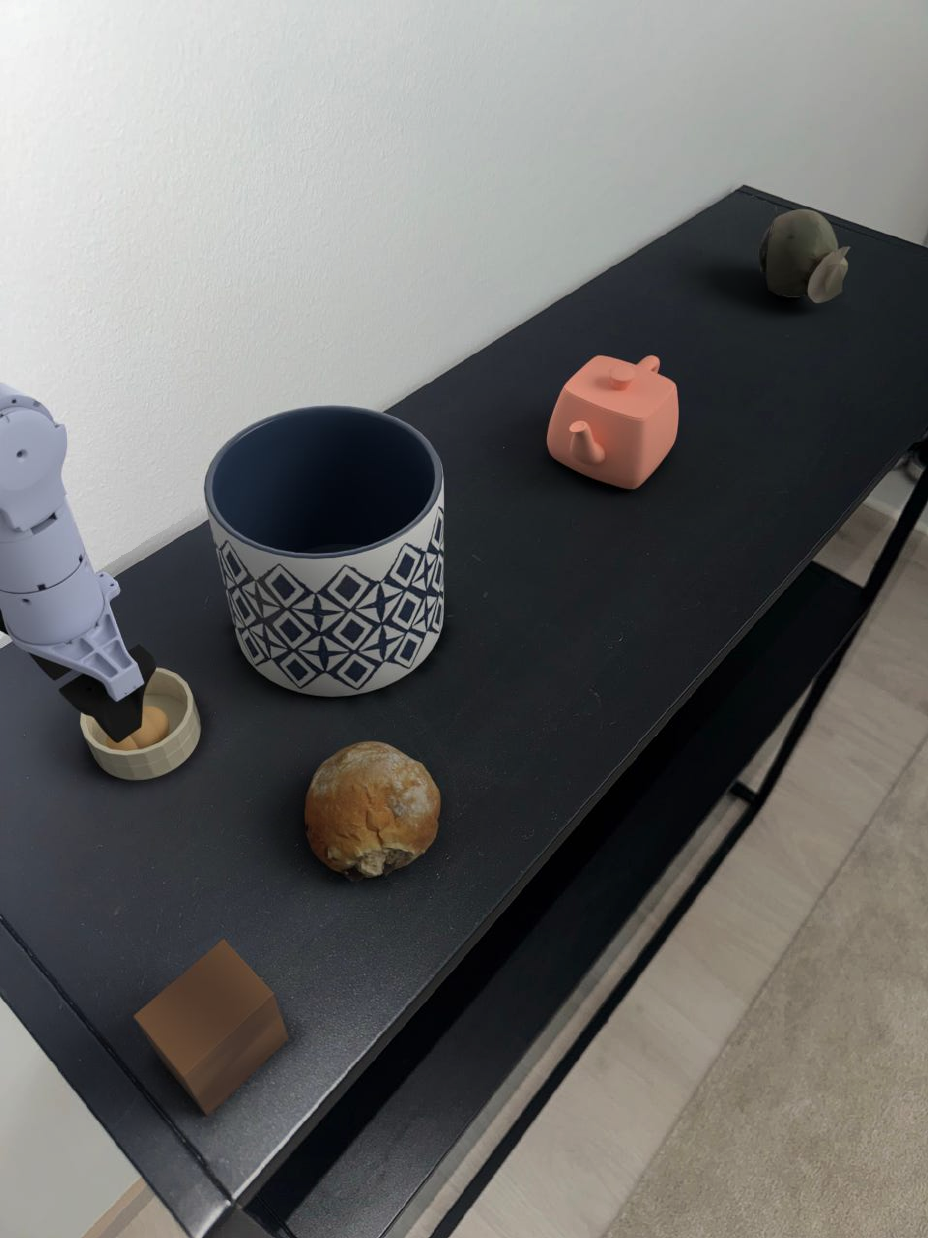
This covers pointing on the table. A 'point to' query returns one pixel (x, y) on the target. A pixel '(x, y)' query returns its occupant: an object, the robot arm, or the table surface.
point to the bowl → (163, 756)
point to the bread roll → (371, 810)
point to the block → (214, 1026)
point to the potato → (144, 731)
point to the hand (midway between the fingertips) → (95, 700)
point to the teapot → (615, 421)
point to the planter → (330, 546)
